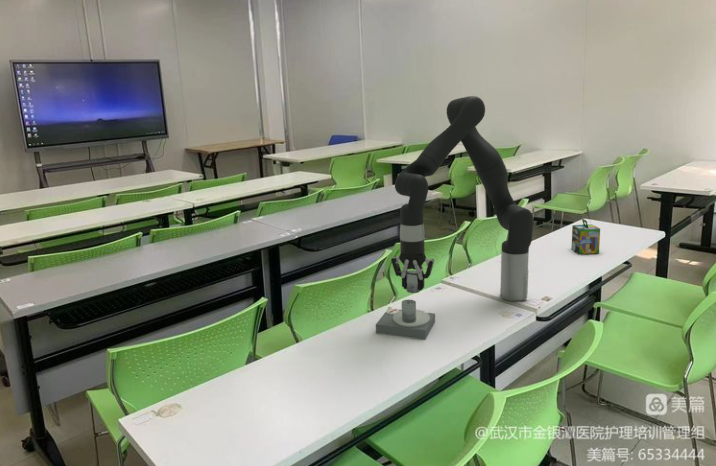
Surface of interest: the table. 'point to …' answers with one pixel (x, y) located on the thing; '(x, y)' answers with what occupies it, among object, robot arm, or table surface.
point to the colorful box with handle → (585, 238)
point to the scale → (405, 324)
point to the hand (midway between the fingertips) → (413, 288)
